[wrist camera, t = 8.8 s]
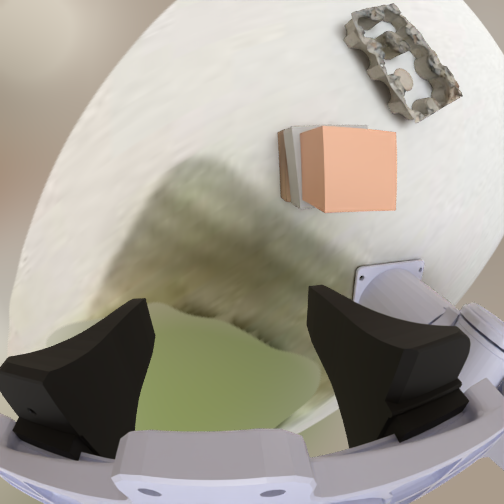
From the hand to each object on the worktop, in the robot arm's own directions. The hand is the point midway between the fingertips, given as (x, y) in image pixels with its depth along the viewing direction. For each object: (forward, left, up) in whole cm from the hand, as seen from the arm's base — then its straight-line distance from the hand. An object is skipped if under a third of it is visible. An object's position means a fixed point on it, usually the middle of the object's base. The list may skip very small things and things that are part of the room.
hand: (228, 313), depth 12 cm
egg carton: (+16, -15, -11) cm, 24 cm away
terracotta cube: (+6, -7, -6) cm, 11 cm away
